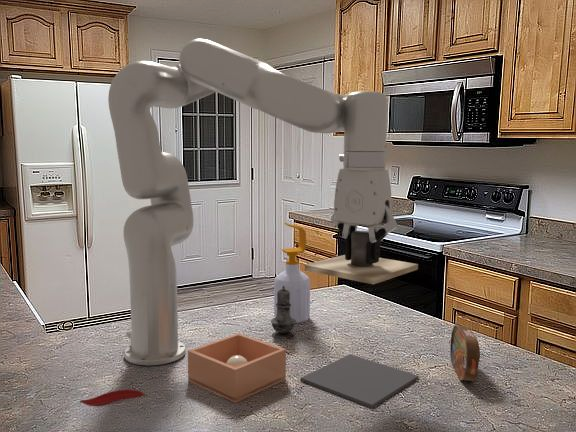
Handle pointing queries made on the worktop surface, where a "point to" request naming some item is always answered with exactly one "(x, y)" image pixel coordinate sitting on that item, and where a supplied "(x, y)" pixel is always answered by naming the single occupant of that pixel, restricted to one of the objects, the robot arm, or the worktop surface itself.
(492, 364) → the worktop surface
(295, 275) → the soap bottle
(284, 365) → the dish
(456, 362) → the tin
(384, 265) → the lid
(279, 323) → the salt shaker
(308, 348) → the worktop surface
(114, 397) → the cayenne pepper
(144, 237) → the robot arm
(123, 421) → the worktop surface
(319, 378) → the mat
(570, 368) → the worktop surface
